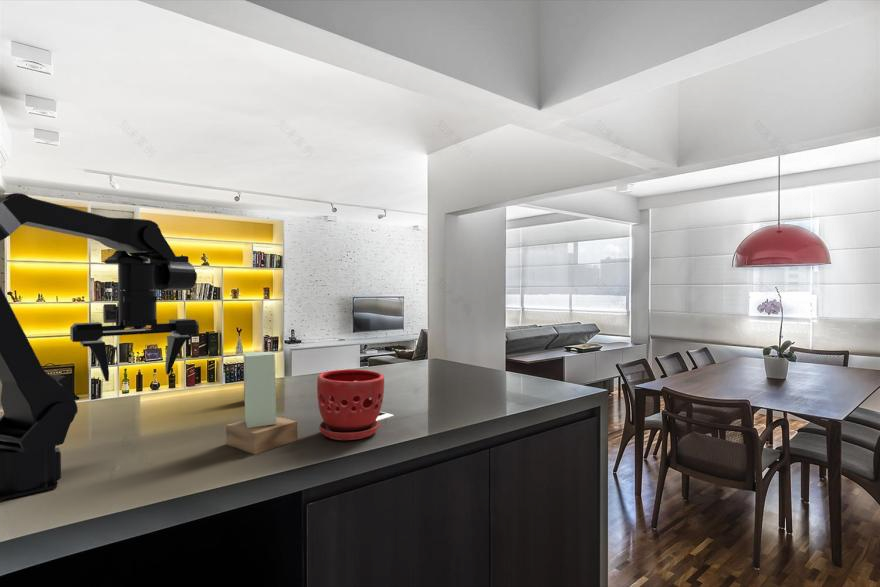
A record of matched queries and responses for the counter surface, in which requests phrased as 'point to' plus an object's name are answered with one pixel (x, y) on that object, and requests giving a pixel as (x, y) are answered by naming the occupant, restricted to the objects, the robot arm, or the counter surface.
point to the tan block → (261, 435)
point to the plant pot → (349, 403)
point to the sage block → (259, 389)
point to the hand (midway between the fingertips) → (138, 377)
